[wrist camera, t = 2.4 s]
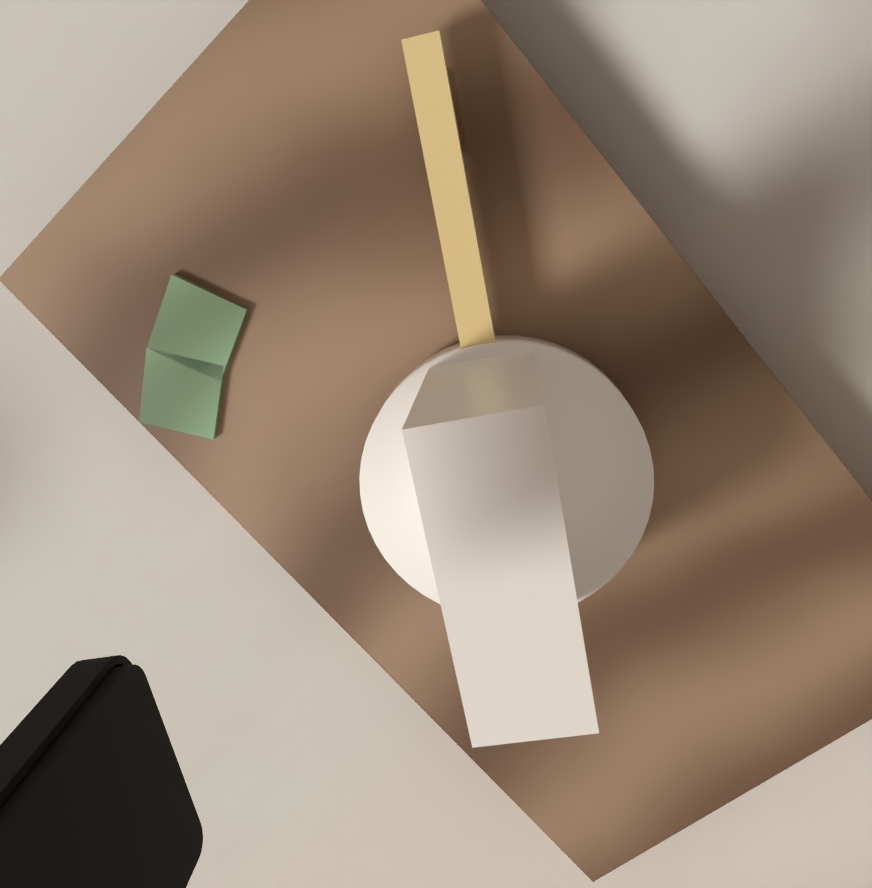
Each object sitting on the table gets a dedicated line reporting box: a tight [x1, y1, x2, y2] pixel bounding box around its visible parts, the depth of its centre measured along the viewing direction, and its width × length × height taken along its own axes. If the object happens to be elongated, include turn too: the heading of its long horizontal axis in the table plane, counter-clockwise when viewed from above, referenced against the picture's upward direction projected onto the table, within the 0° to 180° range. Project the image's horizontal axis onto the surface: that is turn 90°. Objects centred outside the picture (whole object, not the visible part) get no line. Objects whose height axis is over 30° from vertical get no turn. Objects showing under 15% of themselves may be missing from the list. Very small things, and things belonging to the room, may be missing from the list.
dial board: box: [0, 0, 872, 882], centre depth 20 cm, size 24×13×2 cm, turn 41°
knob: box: [359, 31, 654, 748], centre depth 16 cm, size 14×7×6 cm, turn 11°
